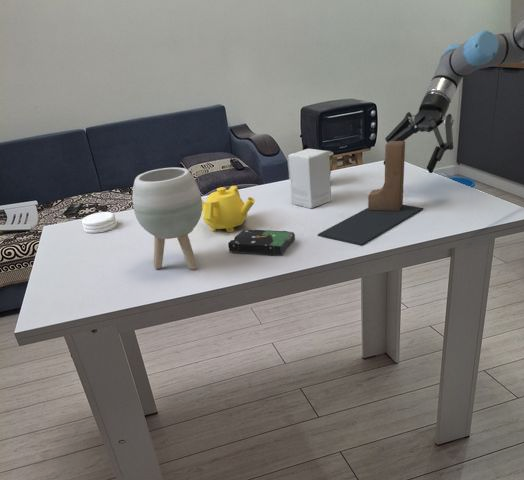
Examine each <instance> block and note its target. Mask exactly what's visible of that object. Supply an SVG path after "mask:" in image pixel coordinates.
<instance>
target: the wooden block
mask: <svg viewBox="0 0 524 480" xmlns="http://www.w3.org/2000/svg"><path fill="white" fill-rule="evenodd" d="M384 147H385V150H384V160H385V165H384V182H383V186H382V187H381V188H379V189H372V190H371V191H370V192H369V193H368V196H367V197H368V198H367V208H368V209H369V210H383V211H400V209H401V207H402V206H403V205H404V204H403V203H404V181H405V161H406V160H405V157H406V141H405V140H404V141H389V142H388V143H387V142H386V144H385V146H384Z"/></svg>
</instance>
